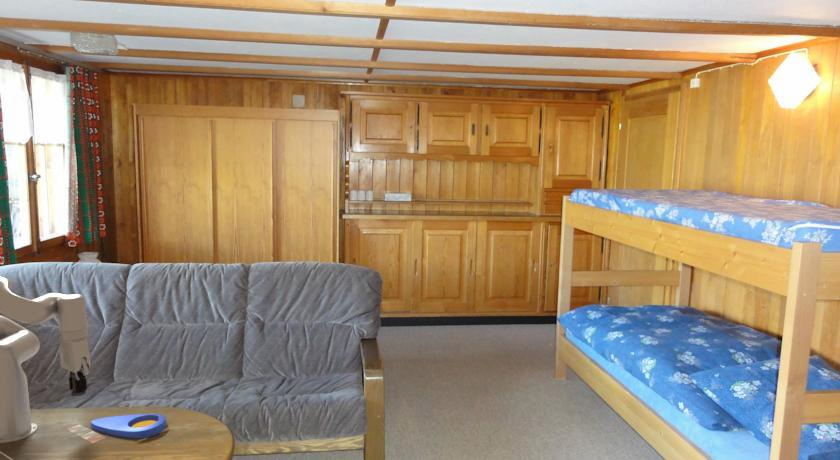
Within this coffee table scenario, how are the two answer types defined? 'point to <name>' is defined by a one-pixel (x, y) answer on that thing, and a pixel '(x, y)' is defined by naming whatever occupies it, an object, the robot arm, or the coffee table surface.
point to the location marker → (131, 425)
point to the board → (87, 435)
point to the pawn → (74, 386)
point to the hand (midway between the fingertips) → (78, 389)
